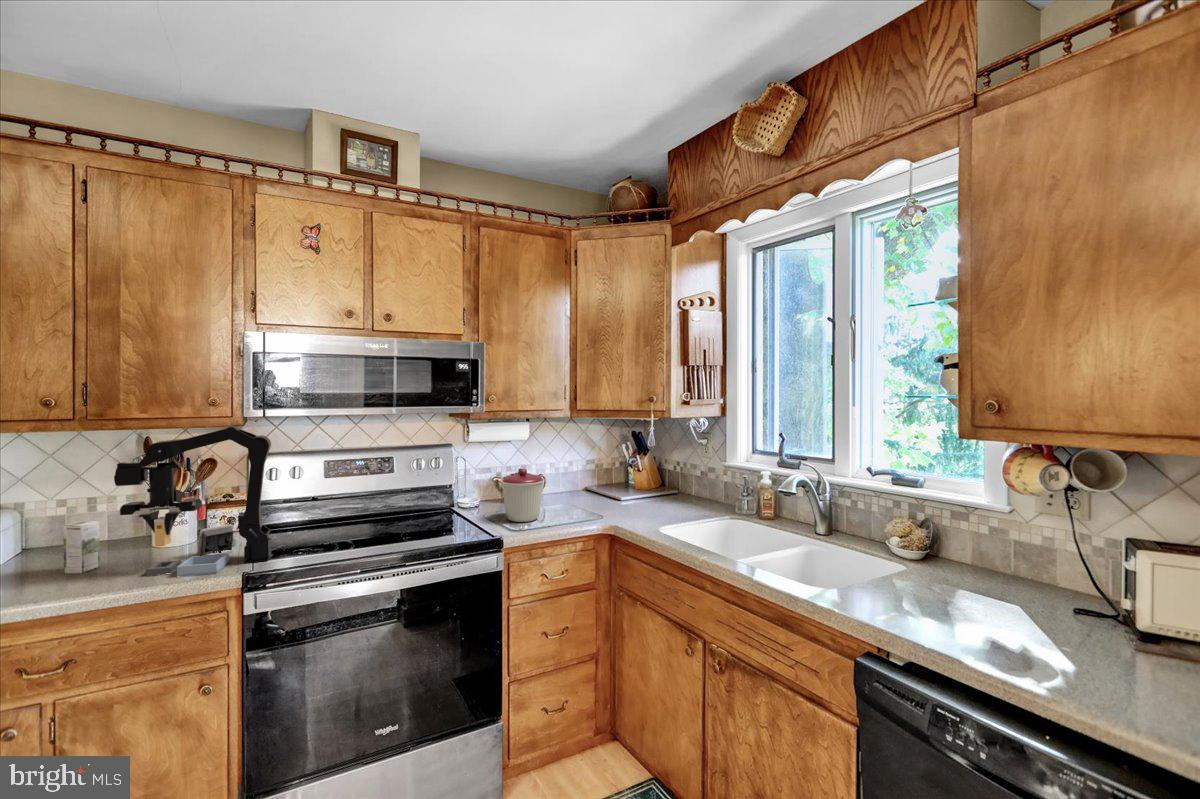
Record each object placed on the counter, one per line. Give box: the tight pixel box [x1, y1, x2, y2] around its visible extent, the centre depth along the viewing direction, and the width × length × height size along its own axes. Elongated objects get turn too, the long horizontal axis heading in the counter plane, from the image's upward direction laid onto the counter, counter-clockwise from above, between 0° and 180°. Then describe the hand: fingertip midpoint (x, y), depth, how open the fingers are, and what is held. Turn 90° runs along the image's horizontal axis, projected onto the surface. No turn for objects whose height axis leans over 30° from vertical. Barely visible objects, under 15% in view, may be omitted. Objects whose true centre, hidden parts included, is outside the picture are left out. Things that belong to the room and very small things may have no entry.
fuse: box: [154, 515, 172, 548], centre depth 163 cm, size 2×4×8 cm, turn 17°
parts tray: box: [176, 552, 230, 577], centre depth 165 cm, size 10×10×3 cm
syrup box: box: [62, 520, 101, 574], centre depth 164 cm, size 6×6×14 cm
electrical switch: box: [197, 523, 234, 556], centre depth 180 cm, size 9×5×9 cm, turn 141°
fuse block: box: [145, 559, 182, 577], centre depth 164 cm, size 6×7×2 cm
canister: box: [500, 468, 546, 523], centre depth 225 cm, size 18×18×21 cm
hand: (162, 535), depth 163 cm, fingers closed on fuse, 2 cm apart
